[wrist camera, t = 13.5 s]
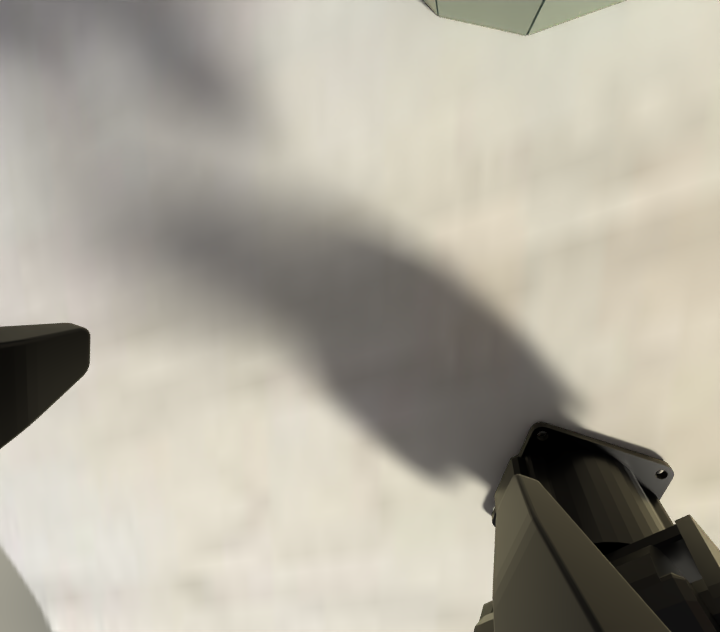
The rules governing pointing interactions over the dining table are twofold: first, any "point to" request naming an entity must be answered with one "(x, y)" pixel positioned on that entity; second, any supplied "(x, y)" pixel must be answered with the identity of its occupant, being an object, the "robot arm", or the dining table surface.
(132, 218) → the dining table surface
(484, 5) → the bowl
